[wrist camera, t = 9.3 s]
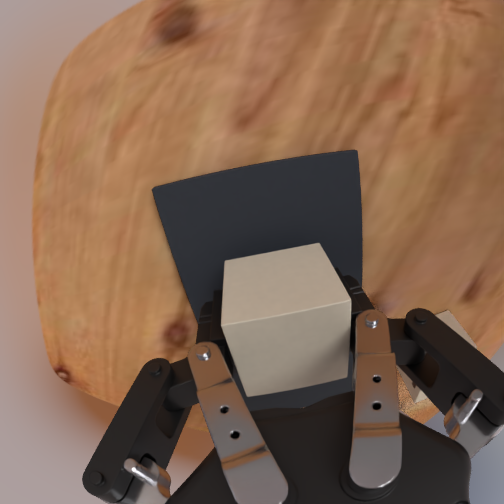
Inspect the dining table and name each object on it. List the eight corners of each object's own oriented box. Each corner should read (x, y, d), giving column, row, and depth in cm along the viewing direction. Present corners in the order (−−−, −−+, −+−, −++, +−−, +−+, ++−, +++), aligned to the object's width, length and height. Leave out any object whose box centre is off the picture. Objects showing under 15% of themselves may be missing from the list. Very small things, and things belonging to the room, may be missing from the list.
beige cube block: (401, 325, 19) (428, 369, 15) (448, 309, 18) (477, 346, 14) (393, 363, 21) (413, 404, 17) (436, 347, 20) (459, 383, 16)
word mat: (153, 187, 13) (151, 189, 13) (354, 149, 13) (357, 150, 13) (239, 414, 22) (239, 417, 22) (351, 392, 22) (352, 396, 22)
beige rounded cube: (222, 260, 13) (217, 325, 9) (319, 242, 13) (351, 299, 9) (241, 330, 16) (244, 397, 12) (324, 314, 15) (347, 377, 11)
